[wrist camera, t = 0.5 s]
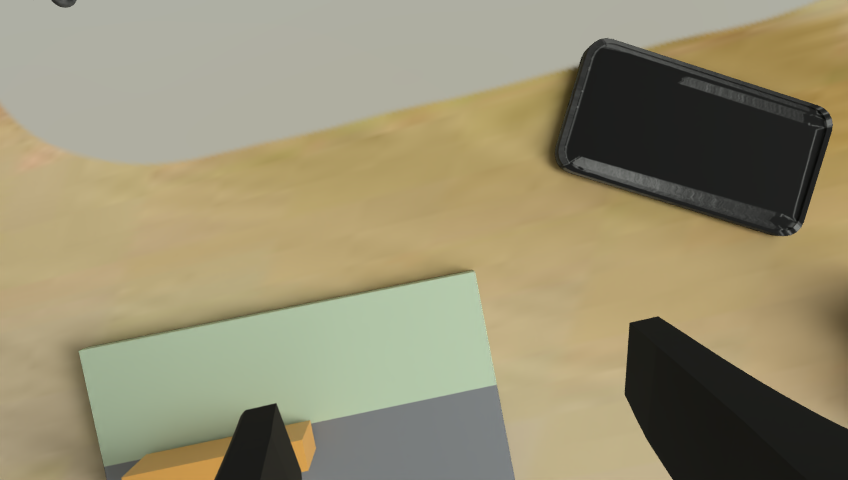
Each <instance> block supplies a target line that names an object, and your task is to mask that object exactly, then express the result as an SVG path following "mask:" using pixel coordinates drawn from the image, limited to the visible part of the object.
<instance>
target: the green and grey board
mask: <svg viewBox="0 0 848 480" xmlns="http://www.w3.org/2000/svg"><path fill="white" fill-rule="evenodd" d="M79 355H80V359H81V364H82V368H83V373H84V378H85V382H86V387H87V391H88V396H89V400H90V405H91V410H92V414H93V419H94V423H95V428H96V432H97V437H98V441H99V446H100V451H101V455H102V460H103V464H104V469H105V473H106V478H107V480H122V479H121V478H122V477H123V476H124V475H125V474H126V473H127V472H128V471H129V470H130V469H131V468H132V467H133V466H134V465H135V464H136V463H138V462H139V461H140V460H141V459H142V458H143V457H144V456H145V455H146V454H151V453H155V452H160V451H165V450H170V449H174V448H179V447H184V446H189V445H194V444H198V443H203V442H208V441H213V440H218V439H222V438H227V437H232V436H233V434H234V432H235V429H236V427H237V424H238V421H239V419H240V416H241V415H242V413H243V412H244V411H245V410H248V409H252V408H257V407H261V406H265V405H270V404H274V403H277V406H278V409H279V411H280V414H281V417H282V420H283V422H284V425H289V424H294V423H299V422H304V421H309V420H310V421H311V426H312V431H313V436H314V441H315V446H316V450H315V453H314V456H313V459H312V462H311V465H310V468H309V471H305V472H301V473H302V480H515V477H514V472H513V467H512V462H511V456H510V451H509V446H508V441H507V436H506V430H505V425H504V420H503V415H502V410H501V404H500V399H499V394H498V389H497V384H496V378H495V373H494V368H493V363H492V358H491V352H490V347H489V342H488V337H487V332H486V326H485V321H484V316H483V311H482V306H481V300H480V295H479V290H478V285H477V280H476V274H475V271H473V270H471V271H466V272H461V273H456V274H451V275H446V276H441V277H436V278H431V279H426V280H421V281H416V282H411V283H406V284H401V285H396V286H391V287H386V288H381V289H376V290H371V291H366V292H361V293H356V294H351V295H346V296H341V297H336V298H331V299H326V300H321V301H316V302H311V303H306V304H301V305H296V306H291V307H286V308H281V309H276V310H271V311H266V312H261V313H256V314H251V315H246V316H241V317H236V318H231V319H226V320H221V321H216V322H211V323H206V324H201V325H196V326H191V327H186V328H181V329H176V330H171V331H166V332H161V333H156V334H151V335H146V336H141V337H136V338H131V339H126V340H121V341H116V342H111V343H106V344H101V345H96V346H91V347H87V348H85V349H82V350H80V351H79Z"/></svg>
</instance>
